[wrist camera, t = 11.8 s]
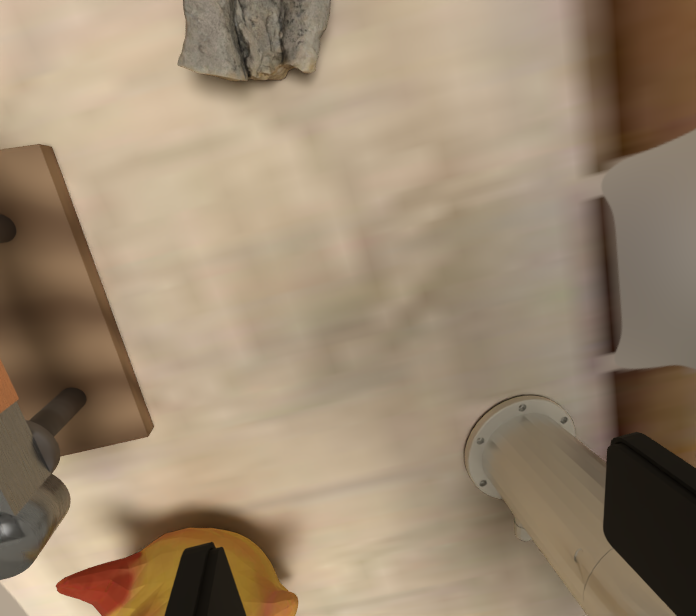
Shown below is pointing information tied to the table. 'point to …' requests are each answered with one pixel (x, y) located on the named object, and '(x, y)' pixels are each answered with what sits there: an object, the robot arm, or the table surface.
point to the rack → (59, 318)
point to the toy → (160, 571)
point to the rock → (252, 37)
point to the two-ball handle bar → (24, 489)
